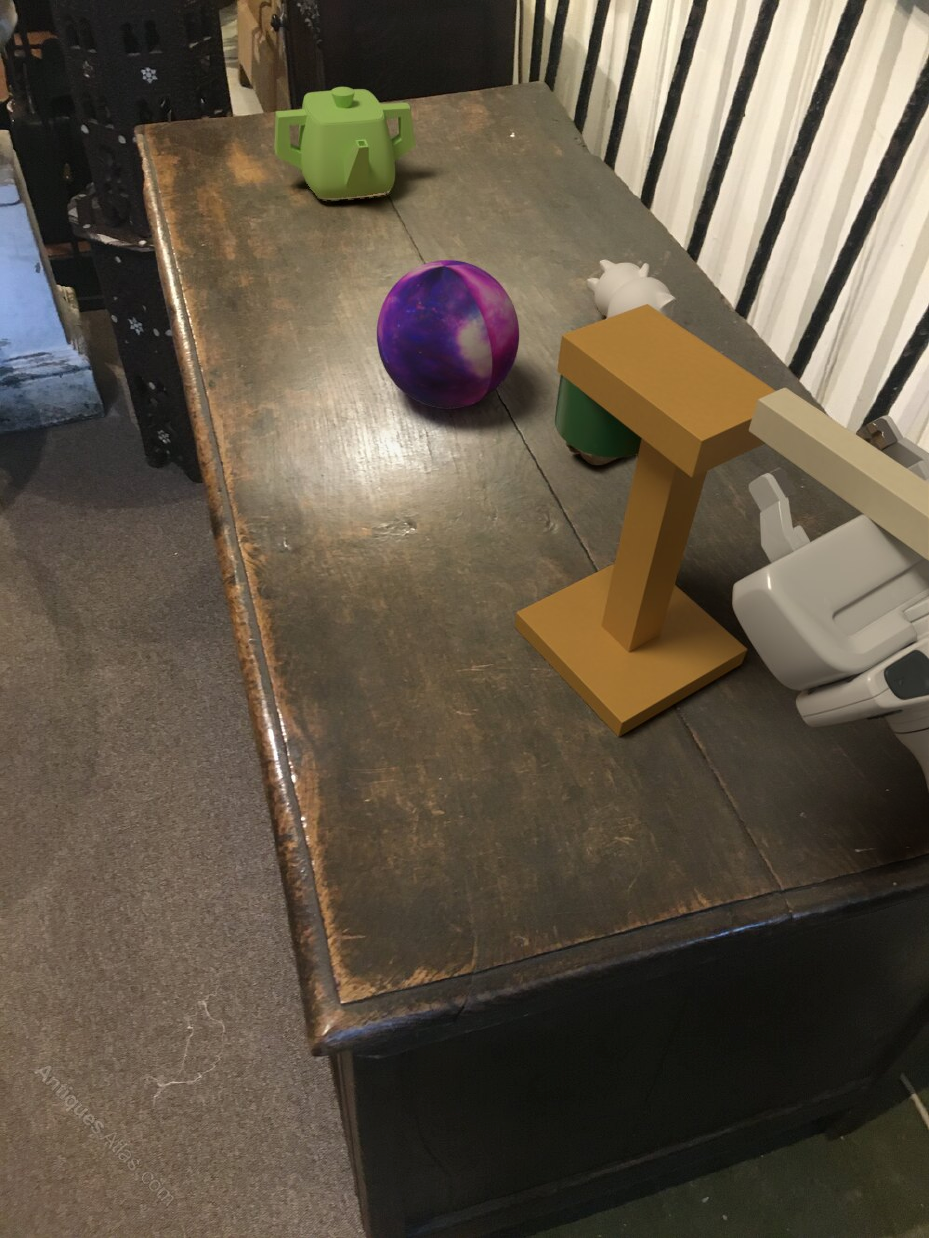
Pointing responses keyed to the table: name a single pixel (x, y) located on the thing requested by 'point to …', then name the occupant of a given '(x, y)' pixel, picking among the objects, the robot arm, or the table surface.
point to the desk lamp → (644, 512)
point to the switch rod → (846, 466)
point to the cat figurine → (629, 290)
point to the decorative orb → (448, 334)
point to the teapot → (345, 142)
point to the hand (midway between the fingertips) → (818, 448)
